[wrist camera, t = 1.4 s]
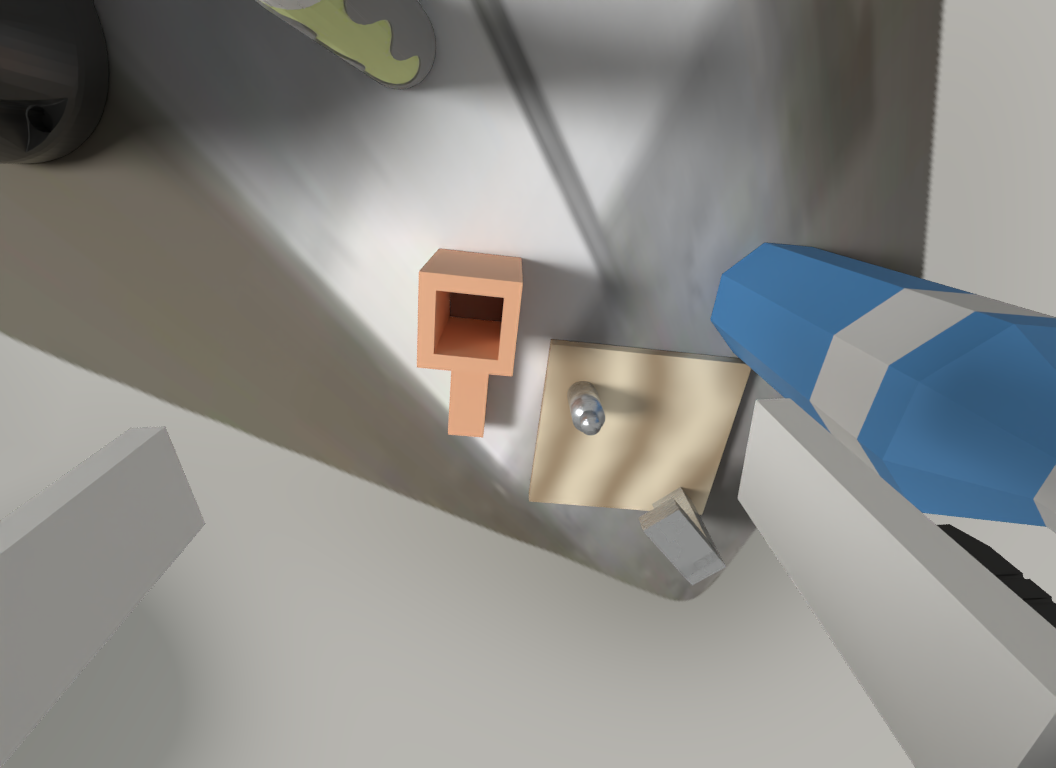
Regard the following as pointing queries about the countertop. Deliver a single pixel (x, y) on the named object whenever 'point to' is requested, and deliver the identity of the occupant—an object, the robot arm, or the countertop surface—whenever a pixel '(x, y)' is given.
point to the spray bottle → (367, 35)
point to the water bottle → (906, 376)
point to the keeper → (682, 536)
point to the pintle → (585, 408)
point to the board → (635, 425)
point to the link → (468, 329)
